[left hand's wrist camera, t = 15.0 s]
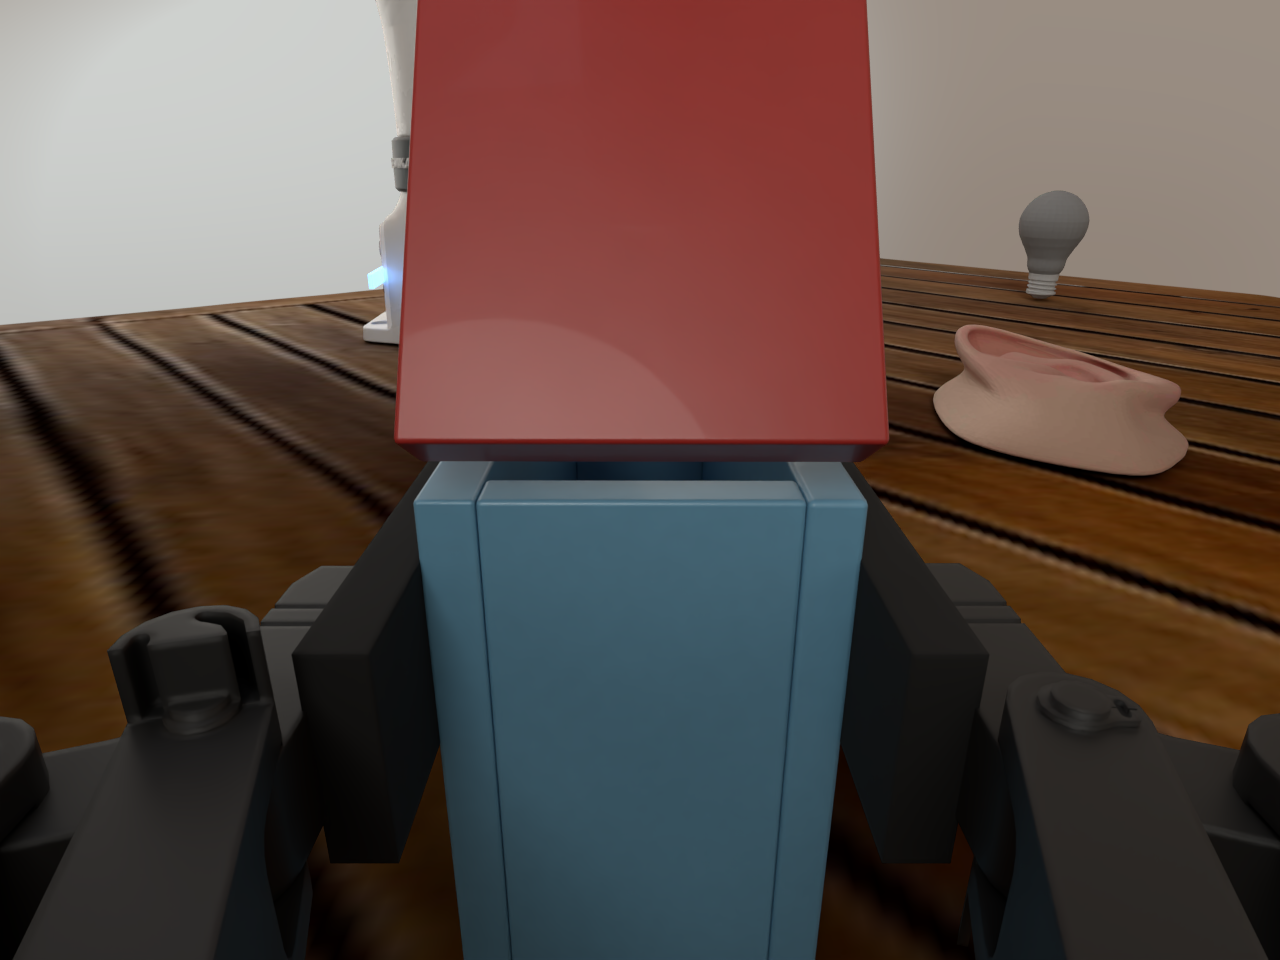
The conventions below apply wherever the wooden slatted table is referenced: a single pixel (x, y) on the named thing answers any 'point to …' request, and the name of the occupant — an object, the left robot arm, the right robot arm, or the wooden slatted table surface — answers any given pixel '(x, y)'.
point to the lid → (641, 234)
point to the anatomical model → (1059, 405)
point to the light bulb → (1051, 237)
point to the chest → (640, 700)
